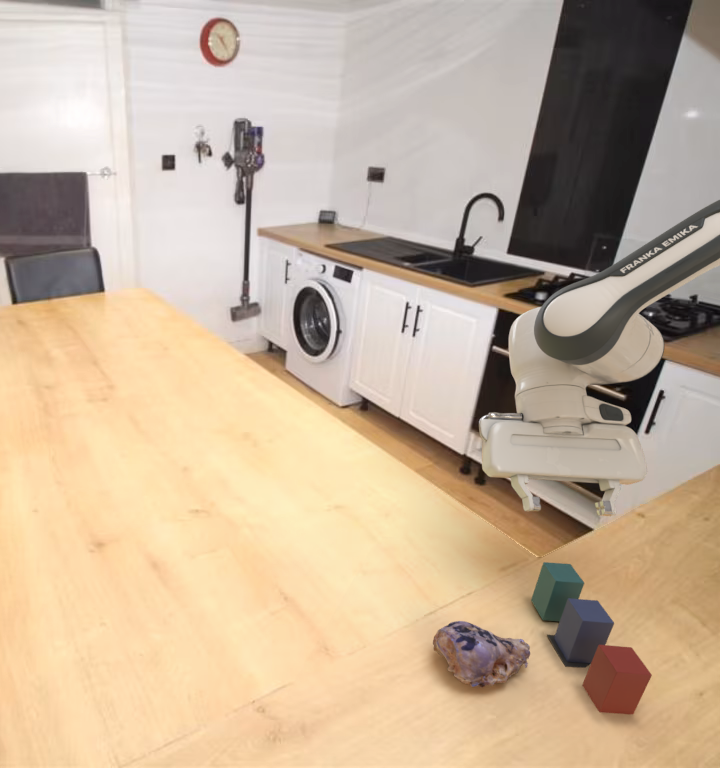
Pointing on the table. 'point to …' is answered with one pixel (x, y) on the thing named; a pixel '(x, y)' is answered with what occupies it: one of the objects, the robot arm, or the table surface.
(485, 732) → the table surface
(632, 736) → the table surface
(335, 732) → the table surface
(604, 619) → the blue block
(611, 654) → the block line
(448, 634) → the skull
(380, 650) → the table surface
